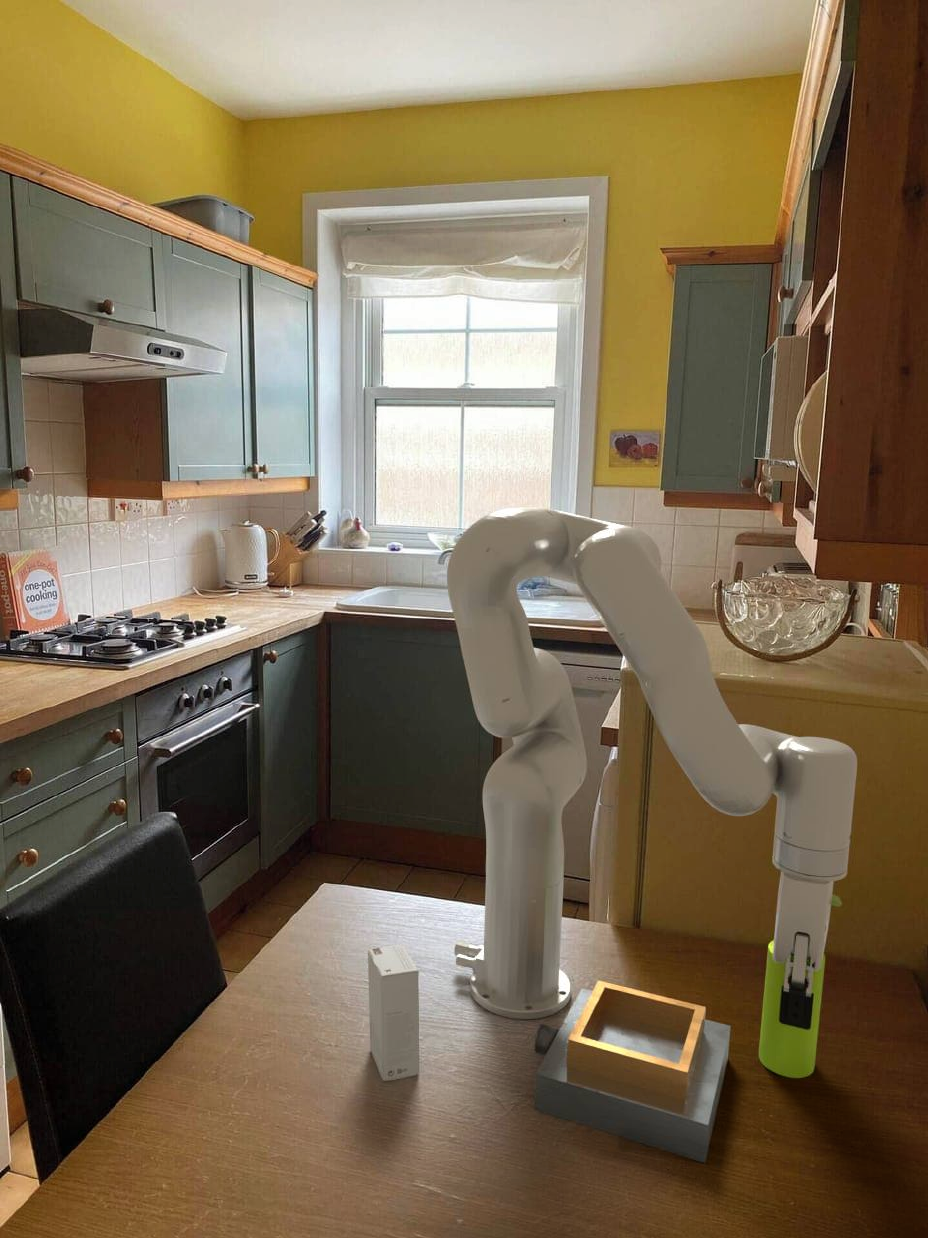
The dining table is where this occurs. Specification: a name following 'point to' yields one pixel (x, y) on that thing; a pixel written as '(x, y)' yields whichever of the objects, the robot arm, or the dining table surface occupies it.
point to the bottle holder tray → (635, 1068)
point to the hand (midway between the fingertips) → (796, 1007)
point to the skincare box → (394, 1012)
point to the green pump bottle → (783, 1043)
